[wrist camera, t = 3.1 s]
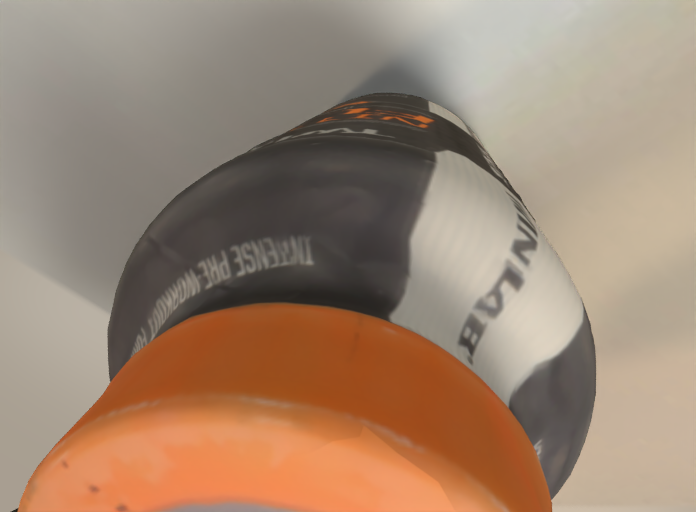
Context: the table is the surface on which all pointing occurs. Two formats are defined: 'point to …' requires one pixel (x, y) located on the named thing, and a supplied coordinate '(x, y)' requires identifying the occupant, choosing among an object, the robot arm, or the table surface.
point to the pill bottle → (338, 336)
